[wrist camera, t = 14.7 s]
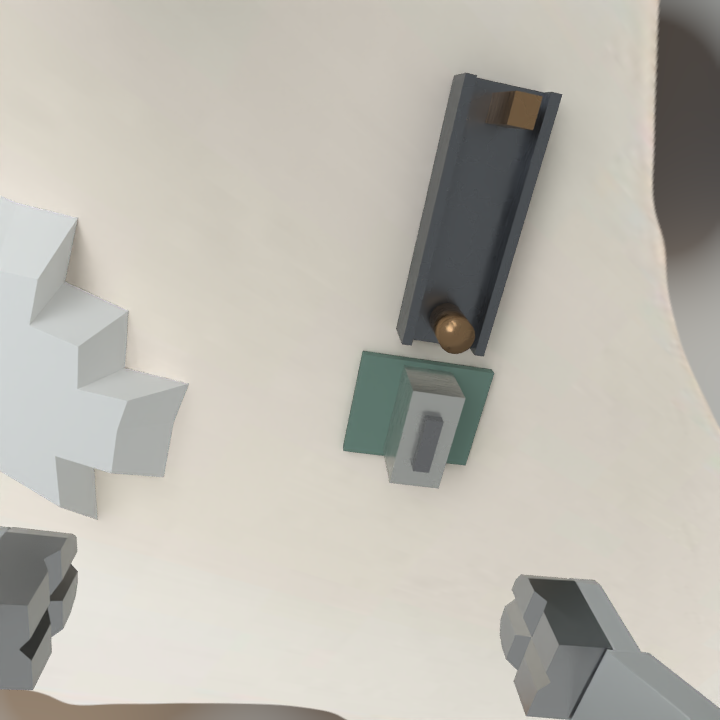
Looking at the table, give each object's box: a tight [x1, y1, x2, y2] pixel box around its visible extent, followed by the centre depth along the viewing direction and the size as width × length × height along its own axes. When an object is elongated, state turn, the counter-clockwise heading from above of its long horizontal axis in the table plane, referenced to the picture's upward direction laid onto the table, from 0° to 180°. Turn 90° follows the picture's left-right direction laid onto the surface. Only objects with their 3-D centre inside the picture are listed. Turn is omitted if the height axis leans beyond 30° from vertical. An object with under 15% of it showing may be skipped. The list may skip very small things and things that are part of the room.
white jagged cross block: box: [0, 196, 189, 520], centre depth 45 cm, size 35×20×6 cm, turn 25°
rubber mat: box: [343, 351, 494, 465], centre depth 51 cm, size 10×12×1 cm
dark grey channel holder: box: [396, 73, 562, 356], centre depth 42 cm, size 20×7×7 cm, turn 169°
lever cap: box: [383, 365, 466, 488], centre depth 48 cm, size 9×4×6 cm, turn 169°
